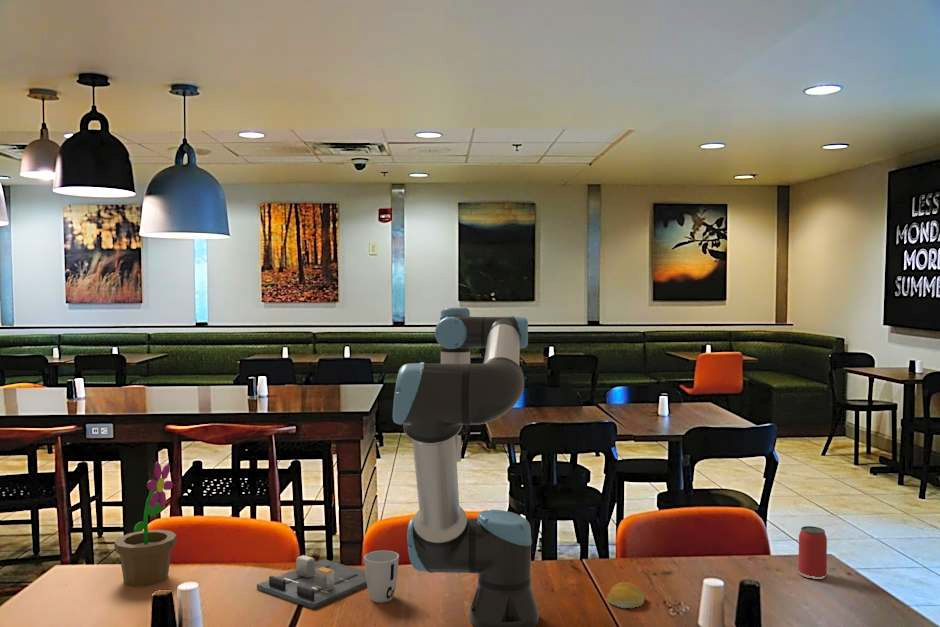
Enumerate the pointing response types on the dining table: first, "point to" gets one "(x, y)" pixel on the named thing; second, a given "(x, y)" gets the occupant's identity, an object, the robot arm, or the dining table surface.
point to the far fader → (305, 566)
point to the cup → (381, 574)
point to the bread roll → (626, 595)
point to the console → (305, 590)
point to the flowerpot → (148, 540)
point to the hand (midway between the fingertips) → (455, 460)
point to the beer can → (812, 551)
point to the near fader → (324, 578)
